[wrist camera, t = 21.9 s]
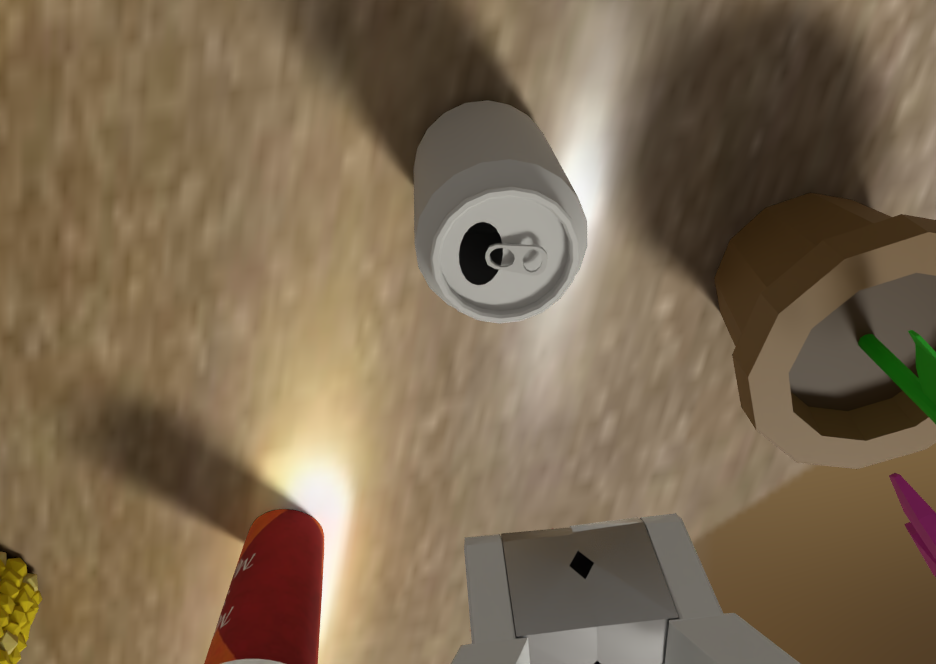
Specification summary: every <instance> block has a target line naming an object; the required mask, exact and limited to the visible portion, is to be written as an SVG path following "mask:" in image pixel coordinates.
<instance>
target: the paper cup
mask: <svg viewBox="0 0 936 664" xmlns="http://www.w3.org/2000/svg"><path fill="white" fill-rule="evenodd" d="M323 560H324V533H323V529H322V527H321V525H320V524H319V523H318V522H317V521H316V520H315V519H314V518H313V517H311V516H310V515H308V514H306V513H303V512H300V511H296V510H290V509H279V510H273V511H270V512H267V513H265V514H263V515H261V516H259V517H258V518H257V519H256V520H255V521H254V522H253V524H252V526H251V528H250V530H249V532H248V535H247V538H246V541H245V543H244V546H243V549H242V552H241V555H240V558H239V561H238V564H237V567H236V570H235V573H234V576H233V579H232V582H231V585H230V588H229V591H228V594H227V597H226V600H225V603H224V606H223V609H222V612H221V615H220V618H219V621H218V624H217V627H216V630H215V633H214V636H213V639H212V642H211V645H210V648H209V651H208V654H207V657H206V660H205V663H204V664H318V648H319V631H320V615H321V597H322V580H323Z"/></svg>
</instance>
